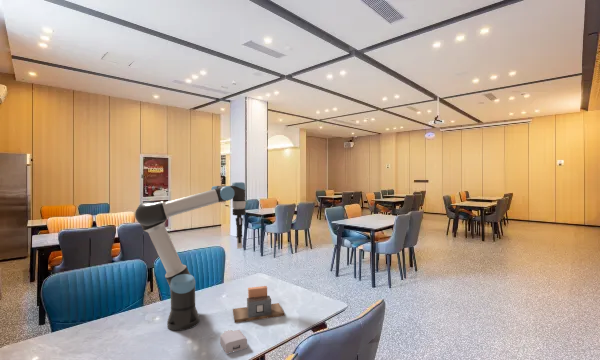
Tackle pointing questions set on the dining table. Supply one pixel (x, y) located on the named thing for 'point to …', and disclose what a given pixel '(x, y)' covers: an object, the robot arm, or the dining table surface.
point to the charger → (233, 341)
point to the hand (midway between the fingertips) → (239, 248)
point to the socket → (258, 301)
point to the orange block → (257, 294)
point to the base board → (242, 316)
